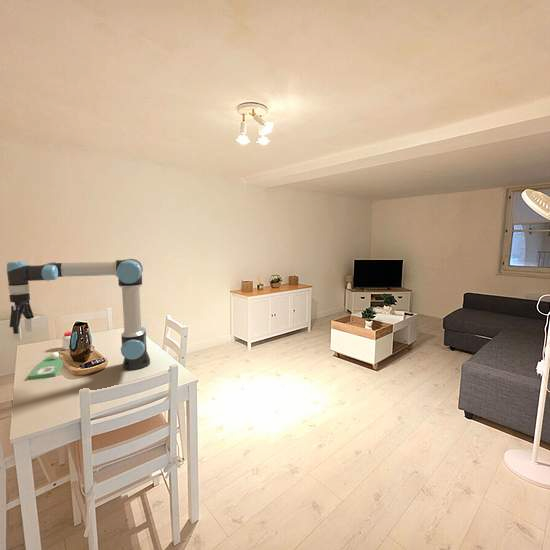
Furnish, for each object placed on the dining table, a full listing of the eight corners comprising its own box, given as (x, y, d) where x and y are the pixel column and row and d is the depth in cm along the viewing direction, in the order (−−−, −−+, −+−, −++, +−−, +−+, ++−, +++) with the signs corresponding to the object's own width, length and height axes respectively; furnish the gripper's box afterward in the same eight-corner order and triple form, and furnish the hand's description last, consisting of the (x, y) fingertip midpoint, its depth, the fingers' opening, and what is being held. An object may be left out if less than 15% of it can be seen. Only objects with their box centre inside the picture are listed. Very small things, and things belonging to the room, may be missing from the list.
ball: (60, 357, 187) (59, 350, 186) (58, 359, 183) (57, 353, 182) (51, 358, 185) (51, 351, 185) (49, 360, 181) (48, 353, 181)
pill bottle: (78, 348, 207) (77, 332, 206) (64, 351, 202) (63, 335, 200) (75, 345, 213) (73, 330, 211) (61, 348, 207) (60, 332, 206)
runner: (69, 357, 192) (69, 354, 192) (55, 376, 166) (54, 372, 166) (46, 359, 188) (46, 356, 188) (28, 379, 162) (28, 376, 162)
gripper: (21, 289, 157) (24, 328, 159) (-4, 298, 134) (1, 344, 136) (38, 288, 159) (41, 327, 162) (17, 297, 136) (22, 342, 139)
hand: (23, 335), depth 149 cm, fingers open, 13 cm apart
